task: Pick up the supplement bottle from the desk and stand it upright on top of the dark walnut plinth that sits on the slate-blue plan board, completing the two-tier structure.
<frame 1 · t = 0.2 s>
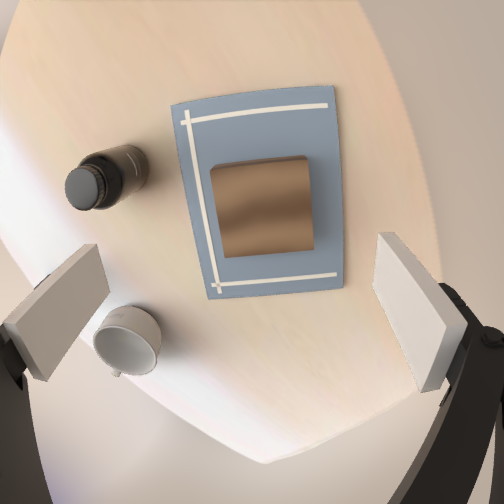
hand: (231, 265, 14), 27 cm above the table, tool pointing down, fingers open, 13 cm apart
plan board: (264, 199, 41), on the table
walnut plinth: (264, 201, 40), resting on plan board
teacup: (135, 327, 52), on the table
supplement bottle: (127, 167, 40), on the table
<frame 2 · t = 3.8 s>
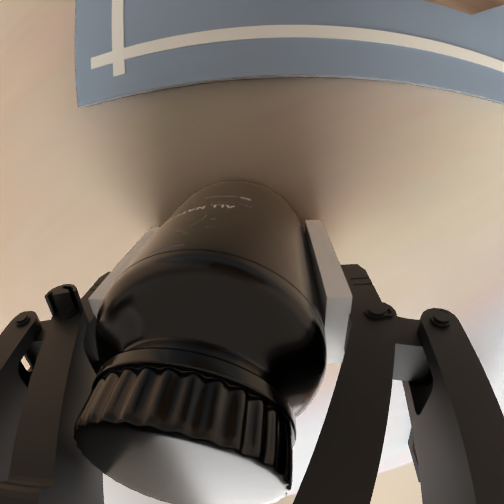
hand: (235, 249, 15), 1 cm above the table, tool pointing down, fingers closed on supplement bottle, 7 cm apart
supplement bottle: (236, 242, 16), on the table, touching gripper
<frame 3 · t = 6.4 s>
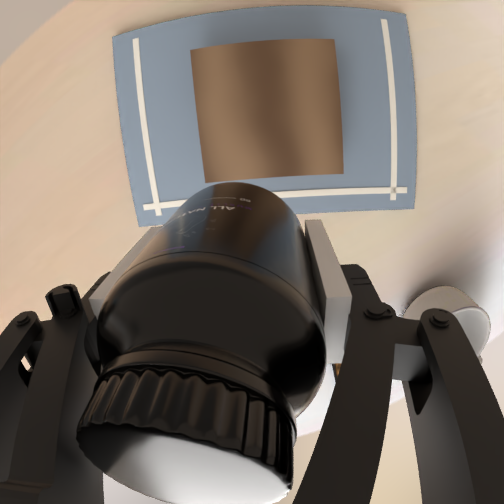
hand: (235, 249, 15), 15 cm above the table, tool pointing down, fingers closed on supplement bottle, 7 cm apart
plan board: (268, 108, 26), on the table
walnut plinth: (268, 108, 25), resting on plan board
teacup: (433, 315, 35), on the table
supplement bottle: (235, 243, 16), point 15 cm above the table, touching gripper
when the fingers open (7 cm above the table, at t = 9.1 s): supplement bottle drops 1 cm, resting on walnut plinth.
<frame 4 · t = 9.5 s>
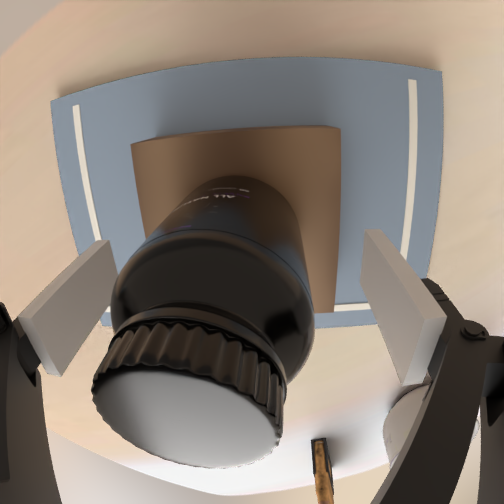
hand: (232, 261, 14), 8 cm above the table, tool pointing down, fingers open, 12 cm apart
plan board: (245, 206, 22), on the table
ammunition clip: (322, 454, 36), on the table
walnut plinth: (244, 211, 21), resting on plan board
teacup: (423, 403, 31), on the table
supplement bottle: (236, 233, 17), point 5 cm above the table, touching walnut plinth
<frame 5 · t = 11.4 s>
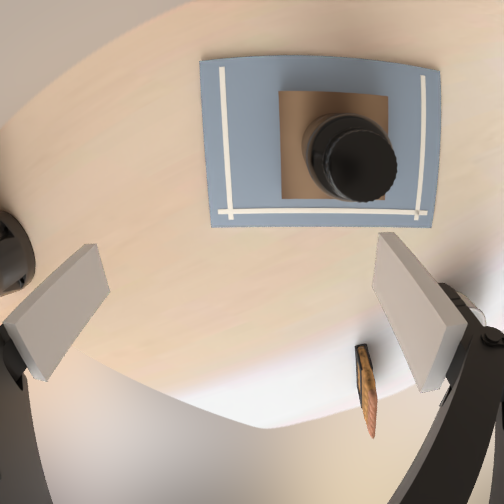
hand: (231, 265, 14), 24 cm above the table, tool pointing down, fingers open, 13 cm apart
plan board: (328, 141, 33), on the table
ammunition clip: (361, 366, 48), on the table
walnut plinth: (329, 142, 32), resting on plan board
supplement bottle: (333, 146, 29), point 5 cm above the table, touching walnut plinth
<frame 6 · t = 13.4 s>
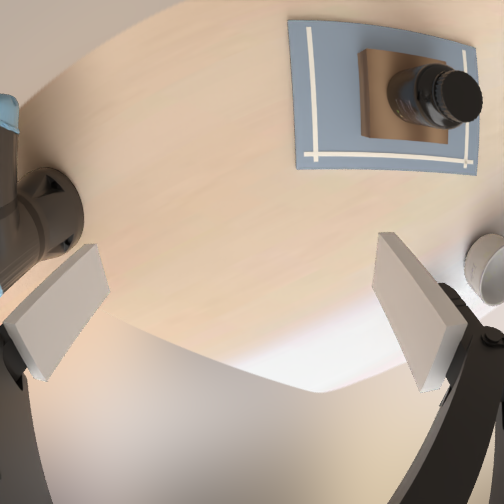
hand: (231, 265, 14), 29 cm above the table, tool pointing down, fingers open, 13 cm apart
plan board: (396, 97, 34), on the table
walnut plinth: (398, 97, 34), resting on plan board
teacup: (483, 260, 44), on the table
supplement bottle: (409, 96, 30), point 5 cm above the table, touching walnut plinth
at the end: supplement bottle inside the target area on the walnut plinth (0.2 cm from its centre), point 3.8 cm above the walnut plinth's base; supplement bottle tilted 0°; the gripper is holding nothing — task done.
